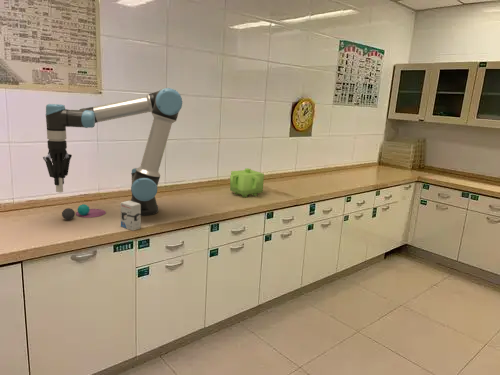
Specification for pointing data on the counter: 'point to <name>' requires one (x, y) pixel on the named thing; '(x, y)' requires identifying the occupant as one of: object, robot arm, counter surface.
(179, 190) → the counter surface
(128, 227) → the ink box
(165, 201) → the counter surface
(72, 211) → the black ball
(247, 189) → the green ribbed block
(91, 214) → the plum mark
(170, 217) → the counter surface
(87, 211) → the teal ball
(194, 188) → the counter surface
